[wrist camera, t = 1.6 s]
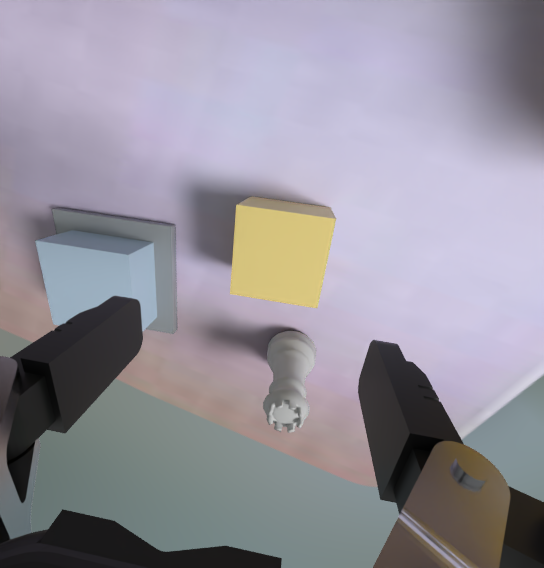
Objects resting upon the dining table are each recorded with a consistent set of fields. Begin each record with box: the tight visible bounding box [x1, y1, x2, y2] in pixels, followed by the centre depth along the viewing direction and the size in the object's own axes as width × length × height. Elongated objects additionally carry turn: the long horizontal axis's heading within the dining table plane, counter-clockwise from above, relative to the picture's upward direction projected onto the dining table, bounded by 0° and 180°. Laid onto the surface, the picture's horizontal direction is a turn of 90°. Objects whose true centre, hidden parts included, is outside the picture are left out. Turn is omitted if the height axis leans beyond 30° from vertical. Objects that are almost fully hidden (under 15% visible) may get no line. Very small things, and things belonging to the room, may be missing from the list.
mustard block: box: [230, 196, 336, 308], centre depth 21 cm, size 6×6×5 cm
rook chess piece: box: [263, 331, 316, 433], centre depth 23 cm, size 4×4×8 cm
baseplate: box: [35, 208, 177, 334], centre depth 24 cm, size 10×10×4 cm
